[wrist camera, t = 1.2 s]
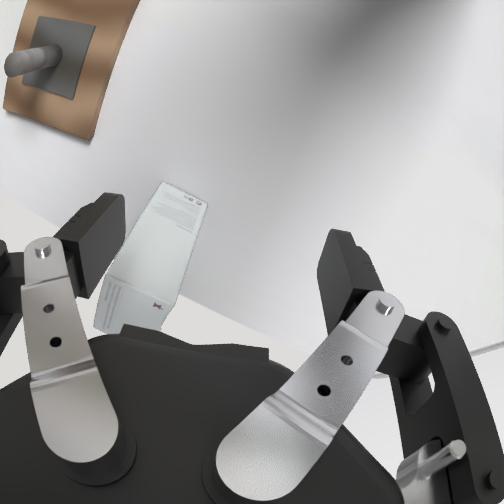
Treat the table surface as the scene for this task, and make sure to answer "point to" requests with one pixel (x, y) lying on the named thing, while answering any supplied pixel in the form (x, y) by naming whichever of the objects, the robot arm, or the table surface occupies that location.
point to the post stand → (65, 61)
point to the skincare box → (151, 263)
